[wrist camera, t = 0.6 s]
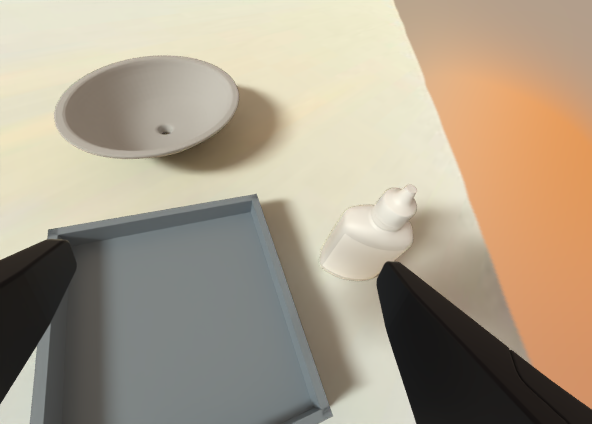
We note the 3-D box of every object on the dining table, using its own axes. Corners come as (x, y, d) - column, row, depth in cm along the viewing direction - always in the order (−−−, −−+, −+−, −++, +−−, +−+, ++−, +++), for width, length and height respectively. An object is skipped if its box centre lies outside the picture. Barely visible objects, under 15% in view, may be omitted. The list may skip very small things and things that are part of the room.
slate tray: (321, 413, 20) (332, 416, 18) (49, 547, 14) (15, 576, 12) (254, 210, 28) (256, 194, 26) (66, 246, 23) (48, 229, 20)
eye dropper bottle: (358, 299, 25) (440, 239, 15) (310, 260, 26) (357, 181, 16) (380, 266, 27) (462, 195, 18) (335, 232, 29) (388, 147, 19)
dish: (140, 221, 25) (122, 188, 21) (46, 138, 28) (14, 95, 24) (264, 134, 35) (269, 99, 31) (184, 79, 38) (178, 40, 34)
